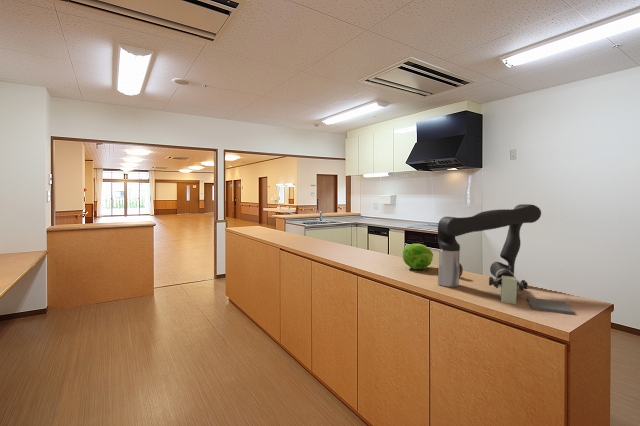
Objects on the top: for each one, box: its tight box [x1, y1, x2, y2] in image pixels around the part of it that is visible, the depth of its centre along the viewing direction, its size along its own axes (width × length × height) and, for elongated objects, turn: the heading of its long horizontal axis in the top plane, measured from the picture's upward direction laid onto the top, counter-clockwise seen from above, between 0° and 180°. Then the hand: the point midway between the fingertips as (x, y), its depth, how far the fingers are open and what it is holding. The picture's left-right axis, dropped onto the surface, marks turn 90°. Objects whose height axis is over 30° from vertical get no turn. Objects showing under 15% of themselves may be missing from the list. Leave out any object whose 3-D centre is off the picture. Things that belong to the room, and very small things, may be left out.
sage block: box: [500, 276, 518, 305], centre depth 134 cm, size 5×5×10 cm
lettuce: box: [402, 243, 434, 270], centre depth 194 cm, size 17×20×15 cm
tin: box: [459, 262, 464, 278], centre depth 177 cm, size 15×3×8 cm, turn 21°
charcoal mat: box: [526, 296, 575, 315], centre depth 128 cm, size 13×13×1 cm
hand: (509, 287), depth 134 cm, fingers open, 8 cm apart
